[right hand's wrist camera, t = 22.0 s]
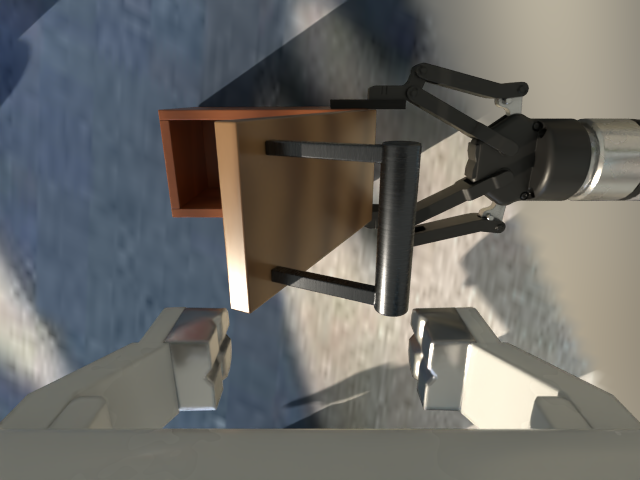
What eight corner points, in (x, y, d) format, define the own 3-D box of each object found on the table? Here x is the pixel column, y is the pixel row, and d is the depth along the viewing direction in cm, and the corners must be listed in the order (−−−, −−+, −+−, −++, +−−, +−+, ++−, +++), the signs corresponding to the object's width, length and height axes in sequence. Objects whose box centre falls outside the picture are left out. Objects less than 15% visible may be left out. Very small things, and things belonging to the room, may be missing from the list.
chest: (203, 192, 46) (172, 217, 36) (194, 107, 43) (157, 109, 33) (356, 192, 46) (364, 217, 36) (358, 106, 42) (368, 109, 33)
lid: (230, 308, 21) (391, 354, 17) (213, 121, 17) (407, 126, 14) (358, 218, 36) (458, 232, 32) (362, 109, 33) (473, 110, 29)
